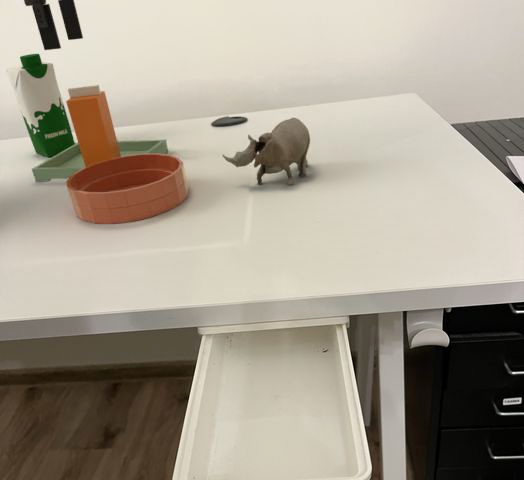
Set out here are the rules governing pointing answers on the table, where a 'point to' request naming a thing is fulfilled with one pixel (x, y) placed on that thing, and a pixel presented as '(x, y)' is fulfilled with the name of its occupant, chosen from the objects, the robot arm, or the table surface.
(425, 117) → the table surface
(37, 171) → the tray
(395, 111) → the table surface
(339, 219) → the table surface
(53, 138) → the milk carton
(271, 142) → the rhinoceros figurine
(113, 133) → the carton
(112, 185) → the bowl
